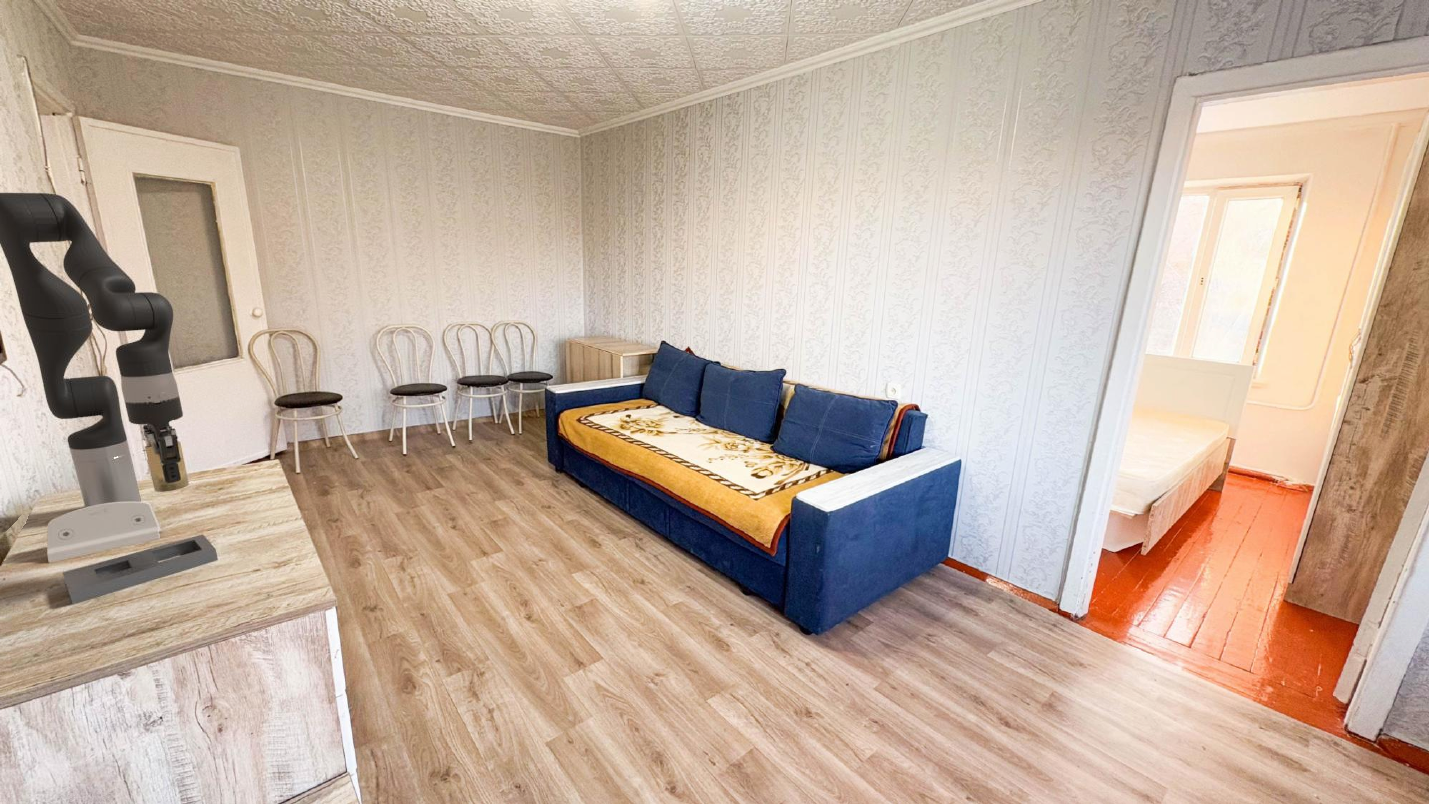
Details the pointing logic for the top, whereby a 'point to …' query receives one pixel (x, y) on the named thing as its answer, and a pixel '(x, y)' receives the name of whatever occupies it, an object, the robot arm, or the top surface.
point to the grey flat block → (137, 568)
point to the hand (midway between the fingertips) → (169, 478)
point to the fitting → (158, 472)
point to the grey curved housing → (101, 529)
